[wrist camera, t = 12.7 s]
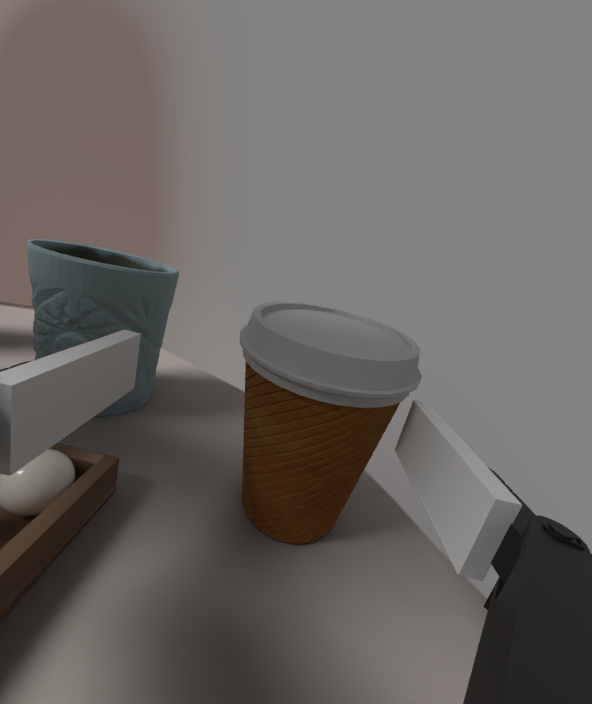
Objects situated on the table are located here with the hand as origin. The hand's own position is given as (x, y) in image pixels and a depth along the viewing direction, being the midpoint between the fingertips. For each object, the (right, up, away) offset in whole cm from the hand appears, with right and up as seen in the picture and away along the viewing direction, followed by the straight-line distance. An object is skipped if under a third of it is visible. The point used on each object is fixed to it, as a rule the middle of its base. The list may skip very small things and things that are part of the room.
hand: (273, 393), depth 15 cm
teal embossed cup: (-16, -2, +13) cm, 21 cm away
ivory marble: (-12, -6, +1) cm, 13 cm away
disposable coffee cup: (+1, -8, +6) cm, 10 cm away
